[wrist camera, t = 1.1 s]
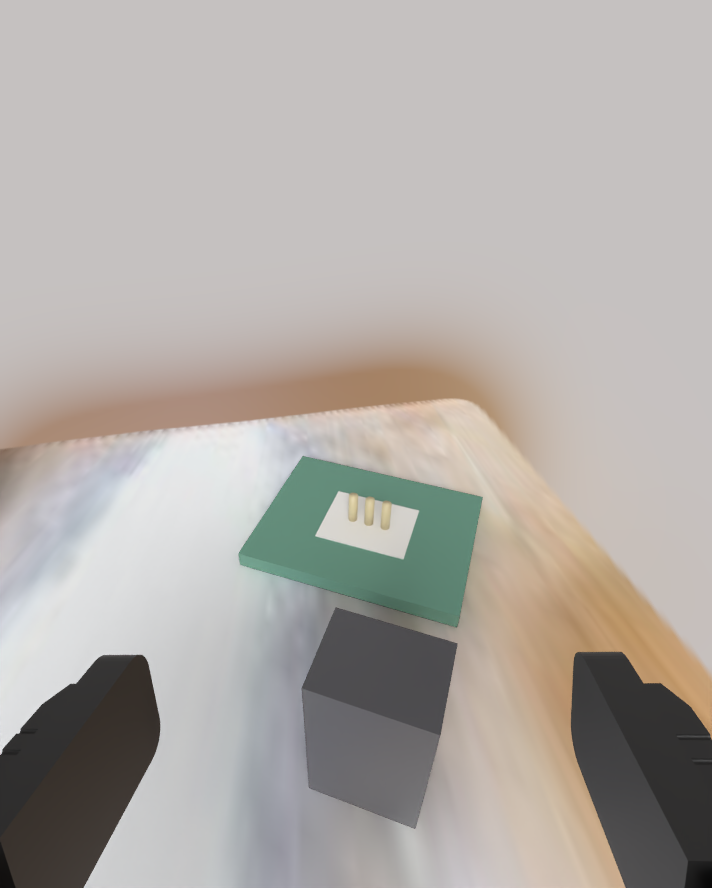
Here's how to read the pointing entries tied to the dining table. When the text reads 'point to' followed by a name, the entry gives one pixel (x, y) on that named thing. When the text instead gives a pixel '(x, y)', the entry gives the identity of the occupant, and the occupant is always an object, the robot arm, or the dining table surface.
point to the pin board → (369, 538)
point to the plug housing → (375, 713)
